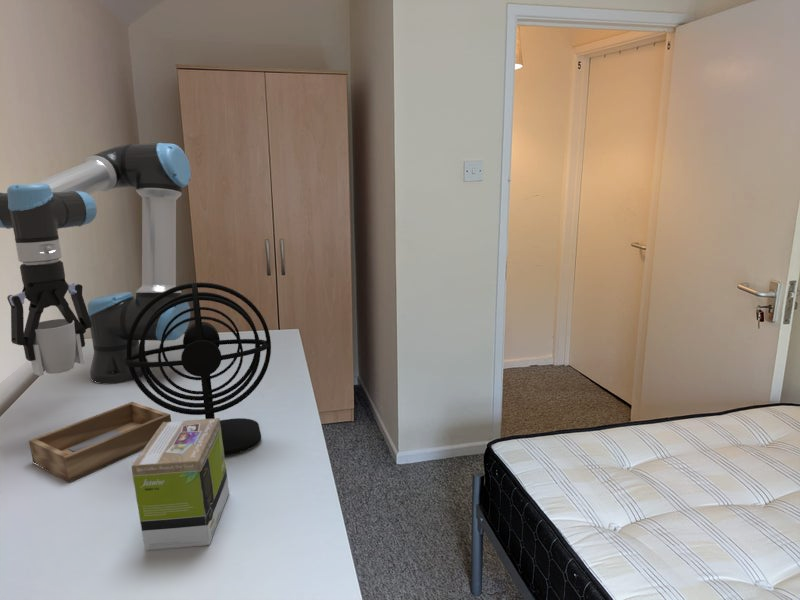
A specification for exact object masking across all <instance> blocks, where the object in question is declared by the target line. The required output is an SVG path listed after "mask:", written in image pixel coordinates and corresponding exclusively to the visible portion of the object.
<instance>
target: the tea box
mask: <svg viewBox="0 0 800 600" xmlns="http://www.w3.org/2000/svg"><path fill="white" fill-rule="evenodd" d="M225 456H226V455H225ZM225 456H224V448H223V441H222V434H221V426H220V417H215V418H214V419H206V418H202V419H194V420H193V419H192V420H191V419H190V420H179V421H178V420H177V421H174V420H173V421H171V422H163V423H162V424H161V425H160V427H159V428H158V430H157V431H156V432H155V434H154V435H153V437H152V438H151V439H150V441H149V442H148V444H147V445H146V446H145V448H144V449H143V450H141V451H140V453H139V455H138V456H137V457H136V459H135V461H134V462H133V463H132V464H131V472H132V479H133V485H134V491H135V498H136V503H137V509H138V515H139V516H138V517H139V522H140V528H141V534H142V541H143V545H144V549H145V550H146V551H155V550H156V551H158V550H166V549H167V550H169V549H182V548H184V549H185V548H193V547H194V548H195V547H206V546H210V544H211V542H212V540H213V539H212V538H213V536H214V533H215V531H216V528H217V525H218V523H219V520H220V518H221V516H222V512H223V510H224V508H225V505H226V501H227V499H228V496H229V493H230V489H229V481H228V480H229V479H228V474H227V464H226V457H225Z"/></svg>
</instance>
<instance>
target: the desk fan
mask: <svg viewBox="0 0 800 600" xmlns="http://www.w3.org/2000/svg"><path fill="white" fill-rule="evenodd" d="M199 288H200V289H202V288H204V289H205V288H206V289H214V290H219V291H222V292H225V293H228V294H230V295H232V296H234V297H236V298H238V299H239V300H241V301H242V302H244V303H245V304H246V305H247V306H248V307H249V308H250V309H251V310H252V311H253V312H254V313H255V315H256V316H257V318H258V319H259V321H260V323H261V325H262V328H263V330H264V335H265V339H260V337H259V333H258V330H257V328H256V326H255V323H254V321H253V320H252V318H251V316H250V315H249V313H248V312H247V311H246V310H245V309H244V308H243V306H241V305H240V304H239V303H237V302H236V301H234V300H233V299H231V298H229V297H227V296H225V295H221V294H219V293H213V292H207V291H205V292H204V291H199ZM188 289H191V290H192V291H191V292H189V293H185V294H181V296H178V297H176V298H173V299H171V300H170V301H168V302H166V303H165V304H163V305H162V306H161V307H160V308H159V309H158V310H157V311H156V312H155V313H154V314H153V315H152V316H151V318H150V319H149V321H148V323H147V324H146V327H145V329H144V332H143V334H142V337H141V340H139V353H136V354H133V355H132V340H133V336H134V332H135V329H136V327H137V325H138V323H139V321H140V320H141V318H142V317H143V315H144V314H145V313H146V312H147V311H148V309H149V308H150V307H152V306H153V305H154V304H155V303H156V302H158V301H159V300H161V299H162V298H164V297H166V296H168V295H170V294H172V293H174V292H177V291H183V290H188ZM200 301H208V302H215V303H218V304H222V305H224V306H227V307H228V308H231V309H232V310H234V311H235V312H237V314H239V315H241V317H242V318H243V319H244V320H245V321H246V322H247V324H248V325H249V326H250V328H251V330H252V333H253V336H254V338H241V335H240V331H239V329H238V327H237V324H235V322H234V320H232V318H230V316H228V315H227V314H226V313H225V312H224V311H223V312H222V311H221V310H219V309H215V308H213V307H207V306H201V305H200ZM185 302H188V303H189V302H192V304H193V307H190V309H187V310H185V311H183V312H181V313H179V314H177V315H176V316H175V317H174V318H172V319H171V321H170V322H169V323H168V324H167V326H166V327H165V329H164V332H163V335H162V339H161V341H160V344H159V347H157V348H154V349H153V348H152V349H149V350H148V349H147V350H146V347H145V346H146V340H145V339H146V335H147V332H148V331H149V329H150V327H151V326H152V324H153V323H154V322H155V321H156V319H157V318H158V317H159V316H161V315H162V314H163V313H164V312H166V311H167V310H169V309H170V308H172V307H174V306H176V305H179V304H182V303H185ZM201 311H210V312H214V313H216V314H218V315H221V316H222V317H224V318H226V320H227V321H228V322H229V323H230V324H231V325H232V326H233V327H231V326H230V324H228V323H226V322H224V321H223V320H221V319H218V318H215V317H211V316H206V315H205V316H202V314H201ZM187 312H190V313H191V312H193V314H194V316H192V317H190V318H188V319H185V320H183V321H181V322H179V323H177V324H176V325H174V326H173V327H172V328H171V329H170V330H169V331H168V332H167V333H166V331H167V329H168V328H169V326H170V325H171V323H172V322H173V321H174V320H175V319H177V318H178V317H179V316H181V315H183V314H185V313H187ZM202 320H206V321H207V320H208V321H212V322H215V323H219V324H221V325H223V326H224V327H225V328H227V329H228V330H229V331H230V332H231V333H232V334H233V336H235V338H236V339H233V338H232V339H220V334H219V332H218V329H217V328H216V327H215V326H214V325H213V324H211V323H209V322H206V321H202ZM191 321H194V322H193V323H192V324H191V325H190V326H188V327H187V329H186V331H185V332H184V334H183V335H184V336H183V339H182V344H177V345H170V346H165V347H164V343H165V342H166V341H165V339H166V338H167V336H168V335H169V334H170V333H171V332H172V331H173V330H174V329H175V328H177V327H178V326H180V325H181V324H183V323H186V322H189V323H190V322H191ZM233 328H234V329H233ZM165 333H166V334H165ZM244 344H245V345H248V344H249V345H254V348H251V349H247V350H244V349H243V345H244ZM221 345H223V346H224V345H237V348H236V349H237V350H236V352H233V353H232V352H231V353H226V354H222V352H221V350H220V348H219V347H220V346H221ZM180 350H183V351H182V353H181V356H180V360H168V357H167V356H166V352H172V351H180ZM263 351H265V358H264V362H263V365H262V368H261V370H260V371H259V373H258V375H257V377H256V378H255V380H254V381H253V383H252V384H251V382H252V380H253V378H254V377H255V375H256V373H257V372H258V371H257V370H258V368H259V365H260V361H261V352H263ZM156 354H157V361H148V359H147V356H152V355H156ZM249 355H253V357H252V359H251V363H250V365H249V366H248V369H246V370H247V371H246V372H245V373H244V374H243V375H242V377H241V378H240V379H239V380H238V381H236V382H235V383H234V384H232V385H231V386H229V387H228V388H226V386H228V385H229V384H230V383H232V382H233V381H234V380H235V378H236V377H237V375H239V372H240V370H241V368H242V364H243V361H244V357H245V356H246V357H247V356H249ZM271 356H272V342H271V336H270V330H269V328H268V326H267V323H266V320H265V318H264V316H263V314H262V313H261V312H260V311H259V309H258V307H257V306H256V305H255V304H254V303H253V302H252V301H251V300H249V299H248V298H247V297H246V296H245V295H243V294H241V293H240V292H238V291H237V290H234V289H232V288H231V287H227V286H225V285H222V284H221V285H220V284H217V283H211V282H192V283H191V282H190V283H184V284H180V285H176V287H173V288H171V289H169V290H166V291H164V292H163V293H161V294H159V295H158V296H156V297H155V298H153V299H152V300H151V301H150V302H149V303H148V304H147V305H146V306H145V307H144V308H143V309H142V310H141V311H140V313H139V314H138V316H137V317H136V319H135V321H134V323H133V325H132V327H131V330H130V332H129V336H128V340H127V357H126V358H125V365H127V366H129V370H130V373H131V375H132V377H133V381H134V383H135V384H136V386H137V387H138V389H139V390H140V391H141V392H142V393H143V394H144V395H145V397H147V398H148V399H149V400H150V401H152V402H153V403H155V404H156V405H158V406H159V407H161V408H164V409H165V410H169V411H171V412H174V413H178V414H182V415H188V416H189V415H191V416H204V417H205V418H204V419H214V418H216V416H215V413H220V412H224V411H225V410H228V409H230V408H232V407H234V406H236V405H238V404H239V403H241V402H243V401H244V400H245V399H246V398H248V397H249V395H251V394H252V393H253V392H254V391H255V390H256V388H258V386H259V385H260V383H261V382H262V380H263V379H264V377H265V375H266V373H267V370H268V367H269V364H270V360H271ZM162 357H163V360H164V361H162ZM138 358H139V362H137V361H133V360H135V359H138ZM238 358H240V359H239V363H238V365H237V368H236V369H235V371H234V373H233V375H231V377H229V379H228V380H226V381H225V382H224V383H223V384H221V385H219V386H217V387H215V388H212V381H211V380H212V379H214V378H218V377H219V376H222V375H223V374H225V373H226V372H228V370H230V368H231V367H233V365H234V364H235V362H236V361H237V359H238ZM146 359H147V360H146ZM225 360H231V362H230V363H229V364H228V365H227V366H226V367H225V368H224V369H222V370H221V371H220V372H217V373H215V372H216V371H217V370H218V369H219V368H220V366H221V363H222V361H225ZM147 361H148V362H147ZM178 366H182V367H183V369H184V370H185V371H186V372H187V373H188V375H187V374H185V373H183V372H181V371H179V370H178V369H177V368H175V367H178ZM135 367H140V368H141V371H142V374H143V376H142V377H143V378H144V379H145V381H146V383H147V384H148V385H149V387H150V388H151V389H152V390H153V391H154V392H155V393H156V394H158V396H160V397H161V398H159V397H158V396H157V395H155V394H154V393H153V392H151V391H150V390H149V389H148V387H147V386H146V385H145V384H144V382H143V381H142V379H141V377H139V376H138V374H137V372H136V370H135ZM164 367H165V368H167V367H169V369H171V371H173V372H174V373H175V374H177V375H178V376H180V377H183V378H184V379H188V380H192V381H201V389H202V390H192V389H188V388H184V387H182V386H180V385H178V384H177V383H175V382H174V381H173V380H172V379H171V378H170V377H169V376H168V375H167V373H166V371H165V370H164ZM152 368H159V370H160V372H161V374H162V376H163V377H164V379H165V380H166V381H167V382H168V383H169V384H170V385H171V386H172V387H174V388H175V389H177V390H179V391H181V392H184V393H180V392H179V391H175V390H173V389H171V388H169V387H168V386H167V385H165V384H163V382H161V381H160V380H159V379H158V378H157V376H155V374H154V373H153V371H152ZM213 373H215V374H213ZM189 374H190V375H189ZM212 374H213V375H212ZM191 375H192V376H191ZM249 384H251V385H250V386H249ZM248 386H249V388H247V387H248ZM223 388H225V389H224V390H222V389H223ZM246 388H247V389H246ZM245 389H246V390H245ZM220 390H221V391H220ZM243 390H245V391H244V392H243ZM218 391H219V392H218ZM165 392H166V393H165ZM241 392H243V393H242V394H241ZM185 393H187V394H185ZM229 393H230V394H229ZM189 394H190V395H189ZM239 394H240V395H239ZM170 395H171V396H170ZM225 395H226V396H225ZM238 395H239V396H238ZM173 396H174V397H173ZM223 396H224V397H223ZM236 396H238V397H236ZM221 397H222V398H221ZM235 397H236V398H235ZM162 398H163V399H164V400H166V401H164V400H163V399H162ZM177 398H179V399H177ZM218 398H219V399H218ZM233 398H234V399H233ZM180 399H183V400H180ZM215 399H216V400H215ZM231 399H232V400H231ZM184 400H186V401H184ZM188 400H189V401H196V402H189V401H188ZM167 401H168V402H167ZM197 401H198V402H197ZM200 401H203V402H200ZM228 401H229V402H228ZM172 403H173V404H172ZM224 403H225V404H224ZM174 404H175V405H174ZM220 404H221V405H220ZM176 405H177V406H176ZM185 407H187V408H185ZM220 426H221V434H222V441H223V448H224V456H230V455H234V454H235V455H236V454H239V453H242V452H246V451H248V450H250V449H252V448H254V447H256V446H257V445H259V444H260V442H261V441H262V433H261V429H260V428H261V427H260V424H259V422H257V421H256V420H254V419H250V418H242V417H241V418H239V417H238V418H228V419H221V420H220Z"/></svg>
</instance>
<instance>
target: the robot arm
mask: <svg viewBox="0 0 800 600" xmlns="http://www.w3.org/2000/svg"><path fill="white" fill-rule="evenodd" d="M191 175H192V173H191V165H190V162H189V159H188V157H187V156H186V154H185V152H184V150H183V149H182V148H181V147H180V146H179V145H178V144H176V143H175V144H174V143H164V142H158V143H157V142H156V143H141V144H138V143H136V144H131V143H129V144H122V145H121V144H120V145H117V146H113V147H111V148H108V149H104V150H103V151H100V152H98V153H95V154H92V155H90V156H88V157H86V158H85V159H84V160H83V162H82V163H81V164H78V165H76V166H74V167H71V168H68V169H66V170H64V171H63V170H62V171H61V172H58V173H56V174H54V175H51V176H49V177H46V178H44V179H41V180H38V181H37V182H34V183H31V184H29V183H28V184H27V183H25V184H24V183H23V184H11V185H9V186H8V187H7V189H6V192H0V228H1V229H6V230H7V229H8V230H9V229H10V230H11V229H12V231H13V235H14V241H15V247H16V252H17V253H16V254H17V259H18V262H19V263H21V264H20V266H19V269H20V276H21V281H22V284H23V288H22V291H21V292H19V293H17V294H14V295H13V294H9V295H7V297H6V298H7V301H8V303H9V306H10V334H11V335H10V336H11V338H10V339H11V341H10V342H11V343H12V344H13V345H17V346H23V350H24V355H25V359H26V361H29V362H31V368H32V371H33V375H36V376H39V377H43V376H44V375H45V373H44V372H45V371H44V368H43V366H42V361H41V356H40V350H39V345H38V344H34V341H35V337H36V332H35V329H38V325H39V322H41V316H42V313H44V310H45V309H47V308H49V307H52V306H53V307H56V308H57V309H58V310H59V312H60V314H61V315H62V316H63V319H65V320H66V321H67V322H68V323H72V322H73V320H74V326H75V336H76V355H75V361H74V363H76V364H80V365H82V364H85V360H84V352H83V348H84V347H86V341H85V335H84V334H86V332H87V330H88V329H90V335H91V340H92V348H93V356H92V362H91V366H90V370H89V375H90V380H91V379H92V380H93V381H96V382H100V383H99V384H102V383H109V384H118V382H119V383H124V382H129V381H134V379H133V377H132V375H131V373H130V370H129V366H127V365H125V358H126V357H127V340H128V336H129V332H130V330H131V327H132V325H133V323H134V321H135V319H136V317H137V316H138V314H139V313H140V311H141V310H142V309H143V308H144V307H145V306H146V305H147V304H148V303H149V302H150V301H151V300H152V299H153V298H155V297H156V296H158V295H159V294H161V293H163V292H164V291H166V290H169V289H171V288H173V287H176V286H177V269H176V268H177V200H178V199H179V198H180V197H181V196H182V193H183V188H184V187H187V186H188V185H189V184H190V181H191V177H192V176H191ZM119 188H136V189H135V191H136V193H137V194H138V195H139V196H140V197H141V199H142V203H141V204H142V205H141V208H142V209H141V214H142V215H141V218H142V219H141V226H142V227H141V229H142V231H141V232H142V233H141V237H142V239H141V248H142V249H141V251H142V252H141V253H142V254H141V273H142V274H141V286H140V287H139V288H138V289H137V290H136V291H135V295H134V294H133V293H132V292H131V291H123V292H122V291H121V292H117V293H111V294H107V295H102V296H98V297H95V298H92V299H91V300H90V301H89V302H88V303H87V306H86V303H85V300H84V296H83V285H82V284H79V283H71V284H69V283H68V282H67V281H66V273H65V268H64V267H65V266H64V261H62V260H60V259H61V258H63V256H62V248H61V243H60V239H59V231H58V230H59V229H65V228H66V229H67V228H74V227H82V226H85V225H87V224H90V223H92V222H93V221H94V220H95V218H96V216H97V213H98V210H97V204H96V200H94V198H93V197H92V196H91V195H93V194H95V193H97V192H108V191H111V190H114V189H119ZM67 292H68V294H70V298H71V301H72V304H73V307H74V310H75V313H76V315H75V313H74V311H72V309H71V307H70V306H69V303H68V301H67V299H66V298H65V296H66V295H67ZM181 295H182V290H180V291H177V292H174V293H172V294H170V295H168V296H166V297H164V298H162V299H161V300H159V301H158V302H156V303H155V304H154V305H153V306H152V307H150V308H149V309H148V311H147V312H146V313H145V314H144V315H143V317H142V318H141V320H140V321H139V323H138V325H137V327H136V329H135V332H134V336H133V340H132V355H133V354H136V353H139V344H140V340H141V337H142V334H143V332H144V329H145V327H146V324H147V323H148V321H149V319H150V318H151V316H152V315H153V314H154V313H155V312H156V311H157V310H158V309H159V308H160V307H161V306H162V305H163V304H165V303H166V302H168V301H170V300H171V299H173V298H176V297H178V296H181ZM25 299H26V300H27V301H29V306H28V315H27V318H26V323H25V326H24V321H25V320H24V306H23V305H24V303H25ZM189 305H190V304H189V302H185V303H182V304H179V305H176V306H174V307H172V308H170V309H169V310H167V311H166V312H164V313H163V314H162V315H161V316H159V317H158V318H157V319H156V321H155V322H154V323H153V324H152V326H151V327H150V329H149V331H148V332H147V335H146V339H145V341H155V342H156V341H159V342H161V339H162V335H163V332H164V329H165V327H166V326H167V324H168V323H169V322H170V321H171V319H172V318H174V317H175V316H176V315H177V314H179V313H181V312H183V311H185V310H187V309H191V307H190V306H189ZM188 318H191V311H190V312H187V313H185V314H183V315H181V316H179V317H178V318H177V319H175V320H174V321H173V322H172V323H171V325H170V326H169V328H168V329H167V331H166V333H167V332H168V331H169V330H170V329H171V328H172V327H173V326H174V325H176V324H177V323H179V322H181V321H183V320H185V319H188ZM189 324H190V321H189V322H186V323H183V324H181V325H180V326H178V327H177V328H175V329H174V330H173V331H172V332H171V333H170V334H169V335H168V336H167V338H166V339H165V341H164V342H166V341H176V340H178V339H180V338H181V337H182V336H183V335H184V334H185V332H186V330H187V329H188V328H189ZM166 333H165V334H166ZM146 360H147V362H149V360H148V359H147V358H146ZM133 361H137V362H139V358H138V359H135V360H133ZM135 370H136V372H137V374H138V376H139V378H141V377H144V376H143V374H142V371H141V368H140V367H135ZM92 380H91V381H92ZM93 381H92V382H93ZM96 382H95V383H96Z"/></svg>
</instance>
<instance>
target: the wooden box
mask: <svg viewBox="0 0 800 600" xmlns="http://www.w3.org/2000/svg"><path fill="white" fill-rule="evenodd" d="M163 422H172V418H171V414H170V413H167V412H164V411H162V410H158V409H156V408H152V407H150V406H145V405H143V404H140V403H138V402H134V401H131V402H128V403H125V404H123V405H120V406H117V407H115V408H111V409H109V410H106V411H104V412H102V413H98V414H96V415H93V416H90V417H88V418H85V419H82V420H80V421H77V422H74V423H72V424H68V425H66V426H64V427H61V428H58V429H56V430H53V431H50V432H48V433H45V434H42V435H39V436H38V437H34V438H32V439H29V440H28V442H29V443H28V444H29V448H30V453H31V459H32V463H33V462H34V463H36V464H38V465H39V466H41V467H43V468H44V469H43V468H42V469H43V470H45V469H46V470H45V471H47V470H48V471H47V472H49V471H50V472H49V473H51V474H53V475H55V476H57V477H58V478H61V479H63V480H65V481H67V482H68V483H73V482H76V480H77V481H78V480H79V479H81V478H83V477H86V476H87V475H90V474H92V473H95V472H97V471H99V470H101V469H103V468H105V467H107V466H110V465H112V464H114V463H116V462H119V461H121V460H123V459H125V458H128V457H131V456H132V455H135V454H136V453H138V452H142V451H143V449H144V448H145V446H146V445H147V444H148V442H149V441H150V439H151V438H152V437H153V435H154V434H155V432H156V431H157V430H158V428H159V427H160V425H161V424H162V423H163ZM39 466H38V467H39ZM41 467H40V468H41Z"/></svg>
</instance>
